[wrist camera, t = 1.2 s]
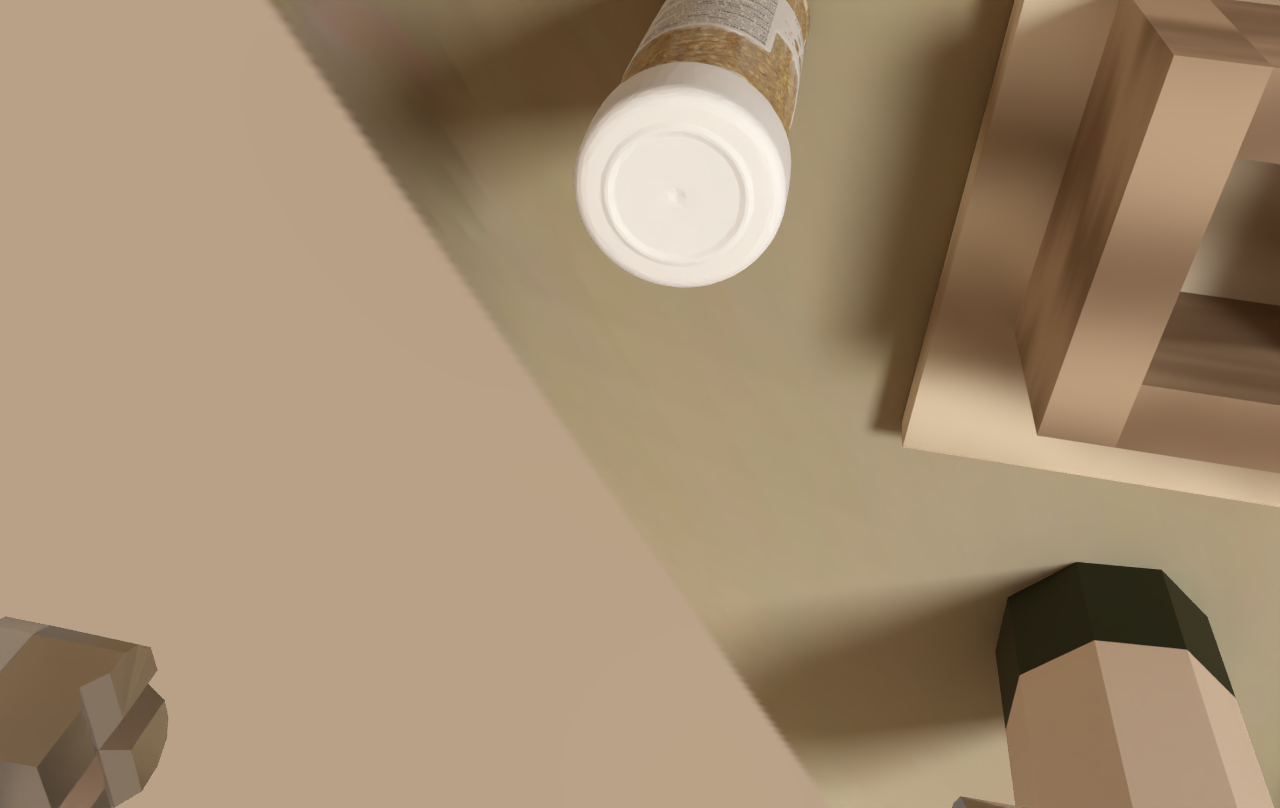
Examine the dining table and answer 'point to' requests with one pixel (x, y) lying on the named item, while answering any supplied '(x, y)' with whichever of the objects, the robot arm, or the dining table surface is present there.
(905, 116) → the dining table surface
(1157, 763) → the wine bottle
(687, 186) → the sprinkles bottle
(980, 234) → the holder board
